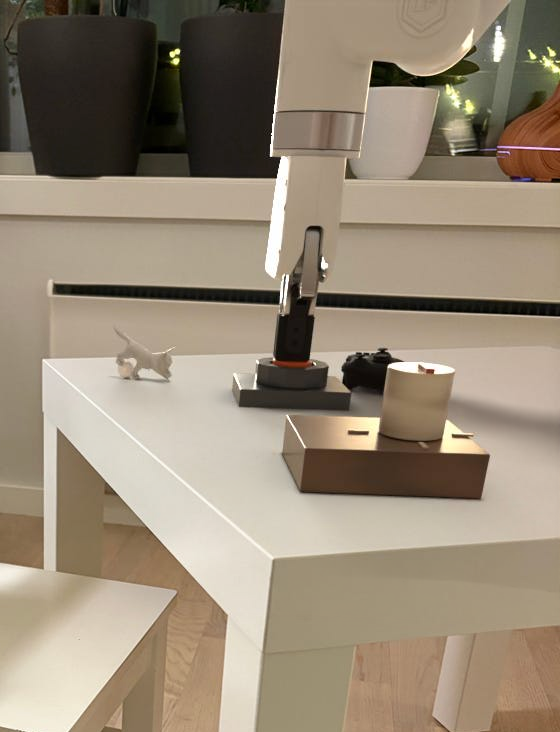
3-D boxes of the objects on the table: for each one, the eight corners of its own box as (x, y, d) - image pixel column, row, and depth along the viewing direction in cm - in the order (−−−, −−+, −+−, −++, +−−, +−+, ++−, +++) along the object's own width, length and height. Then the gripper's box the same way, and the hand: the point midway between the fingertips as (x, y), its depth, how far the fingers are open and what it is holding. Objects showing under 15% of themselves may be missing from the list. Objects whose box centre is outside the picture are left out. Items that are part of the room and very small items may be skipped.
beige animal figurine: (145, 406, 99) (181, 365, 97) (88, 351, 99) (123, 309, 96) (153, 400, 102) (188, 360, 99) (98, 347, 102) (132, 305, 99)
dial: (371, 425, 70) (381, 356, 68) (432, 427, 70) (445, 358, 68) (386, 440, 66) (397, 368, 64) (451, 442, 66) (464, 370, 64)
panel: (445, 459, 74) (452, 417, 72) (486, 498, 65) (495, 452, 63) (281, 453, 74) (286, 412, 73) (299, 491, 65) (305, 445, 64)
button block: (334, 393, 96) (338, 357, 94) (349, 411, 88) (354, 372, 87) (232, 390, 96) (235, 354, 95) (238, 407, 89) (242, 368, 87)
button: (307, 376, 93) (309, 357, 92) (312, 383, 90) (315, 364, 89) (269, 375, 93) (271, 356, 92) (273, 382, 90) (275, 362, 89)
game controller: (420, 386, 93) (364, 340, 93) (383, 427, 96) (328, 382, 96) (422, 370, 101) (370, 327, 101) (388, 408, 104) (337, 366, 104)
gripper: (262, 140, 90) (243, 345, 98) (282, 134, 76) (258, 373, 84) (345, 142, 89) (318, 348, 97) (379, 137, 76) (345, 376, 84)
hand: (290, 359), depth 91 cm, fingers closed
